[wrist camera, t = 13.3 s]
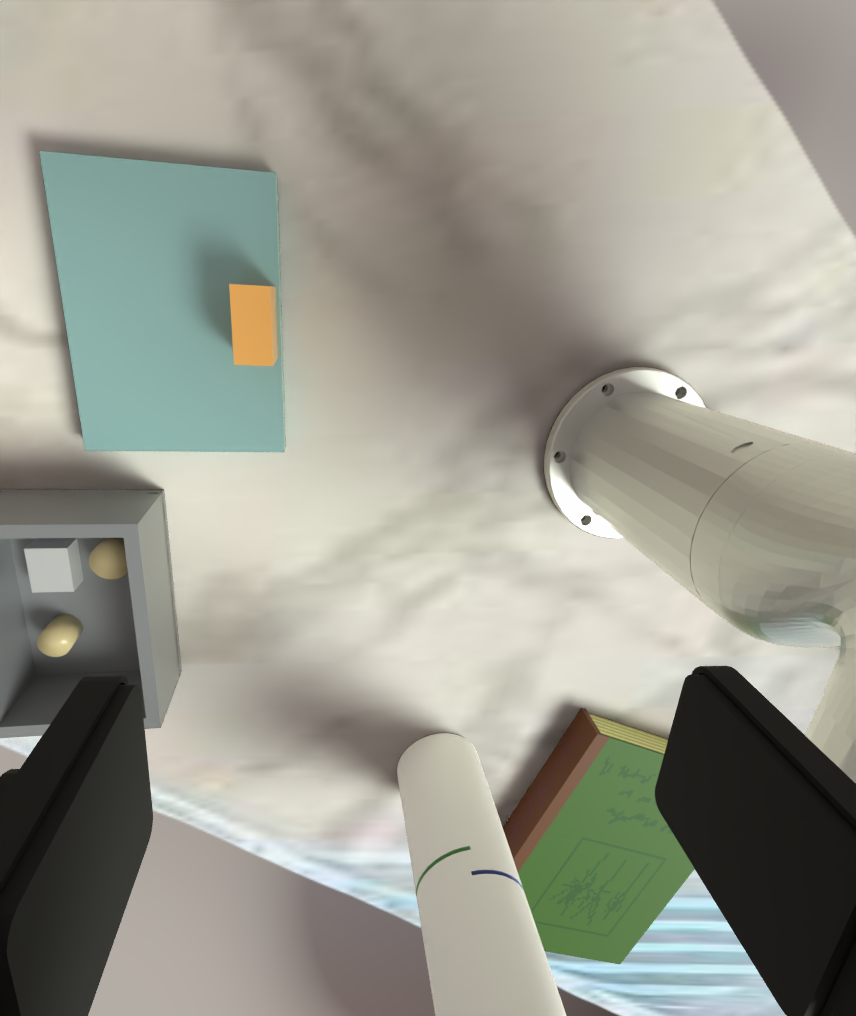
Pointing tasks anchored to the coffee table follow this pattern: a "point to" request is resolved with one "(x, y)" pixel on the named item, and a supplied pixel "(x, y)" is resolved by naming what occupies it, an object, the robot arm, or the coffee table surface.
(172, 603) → the tub
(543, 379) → the coffee table surface
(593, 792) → the hardcover book
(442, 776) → the cylindrical container
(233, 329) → the lid
